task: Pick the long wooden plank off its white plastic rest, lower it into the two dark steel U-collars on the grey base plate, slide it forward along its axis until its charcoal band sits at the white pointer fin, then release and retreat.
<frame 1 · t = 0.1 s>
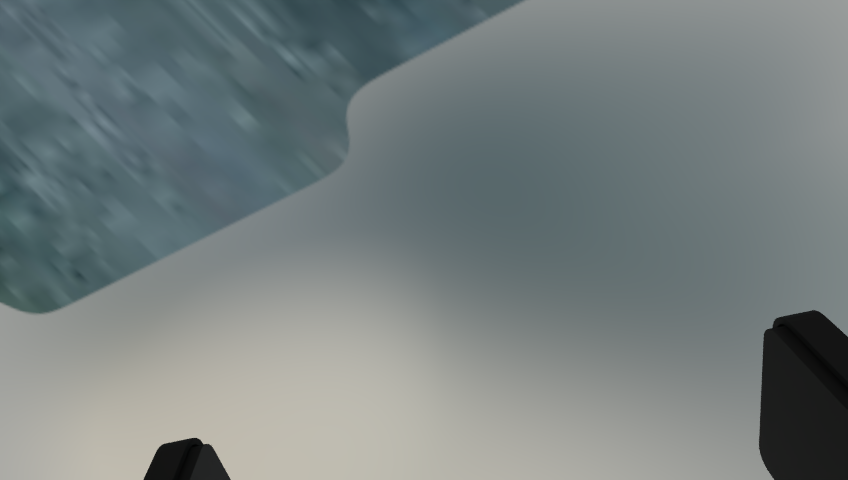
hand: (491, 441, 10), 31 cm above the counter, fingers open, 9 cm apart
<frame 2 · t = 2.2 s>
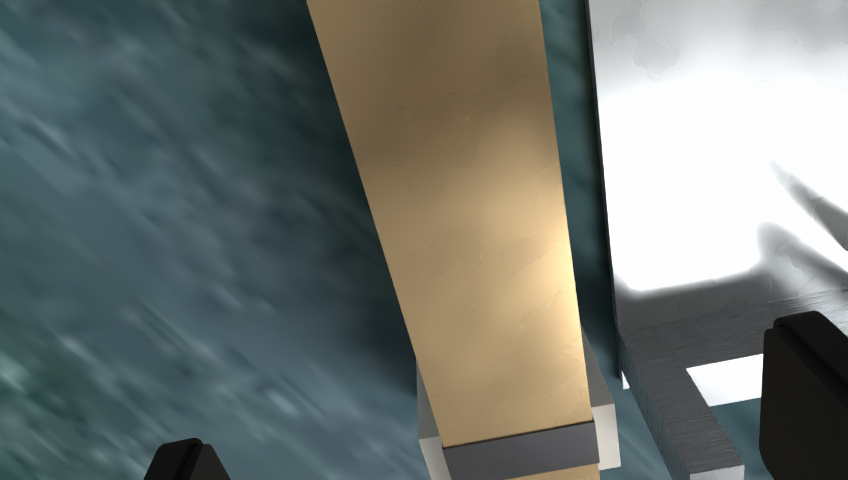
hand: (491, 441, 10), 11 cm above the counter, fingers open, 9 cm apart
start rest: (458, 158, 20), on the counter
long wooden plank: (466, 198, 17), point 3 cm above the counter, touching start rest
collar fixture: (739, 95, 19), on the counter
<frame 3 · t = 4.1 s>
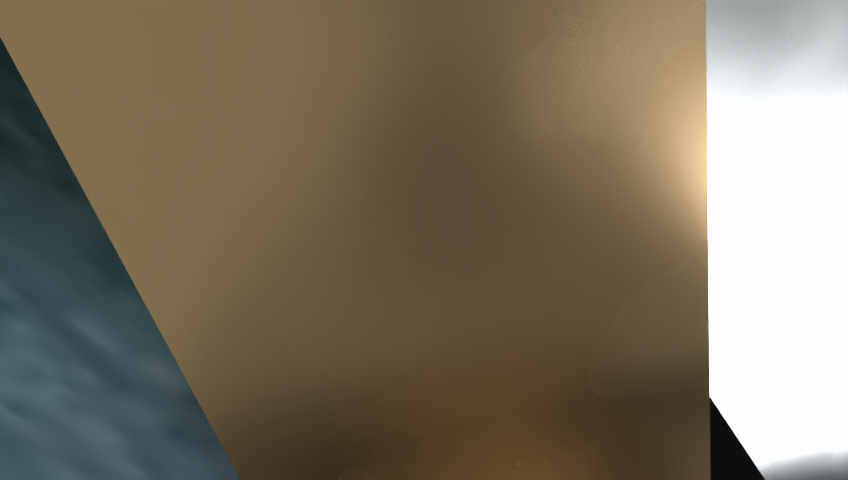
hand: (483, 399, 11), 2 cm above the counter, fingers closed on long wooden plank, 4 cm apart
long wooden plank: (489, 428, 10), point 3 cm above the counter, touching gripper, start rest
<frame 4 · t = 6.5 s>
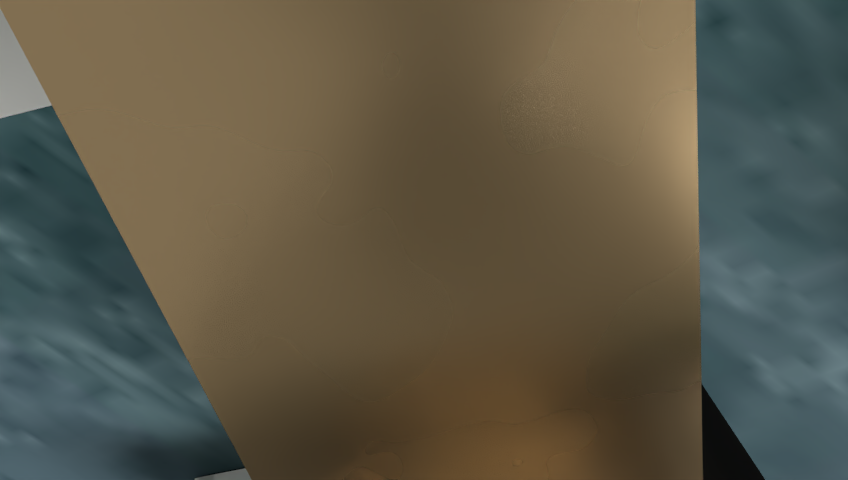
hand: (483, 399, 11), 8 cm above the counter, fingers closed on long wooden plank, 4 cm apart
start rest: (194, 307, 19), on the counter
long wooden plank: (489, 426, 11), point 8 cm above the counter, touching gripper
when the fingers open (2 cm above the counter, at t = 8.9 s): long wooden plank stays where it is, resting on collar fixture.
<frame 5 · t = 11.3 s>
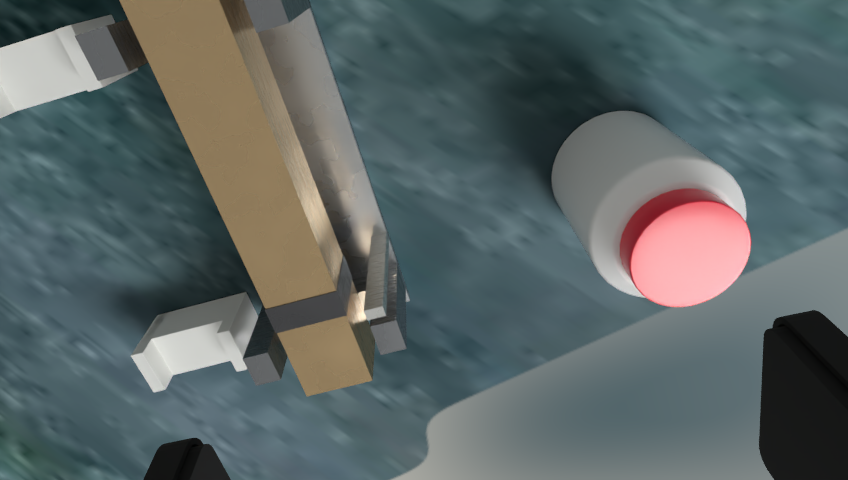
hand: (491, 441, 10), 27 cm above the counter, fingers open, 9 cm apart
pill bottle: (612, 171, 37), on the counter
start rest: (148, 204, 37), on the counter
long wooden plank: (278, 185, 33), point 3 cm above the counter, touching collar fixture
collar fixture: (286, 165, 36), on the counter
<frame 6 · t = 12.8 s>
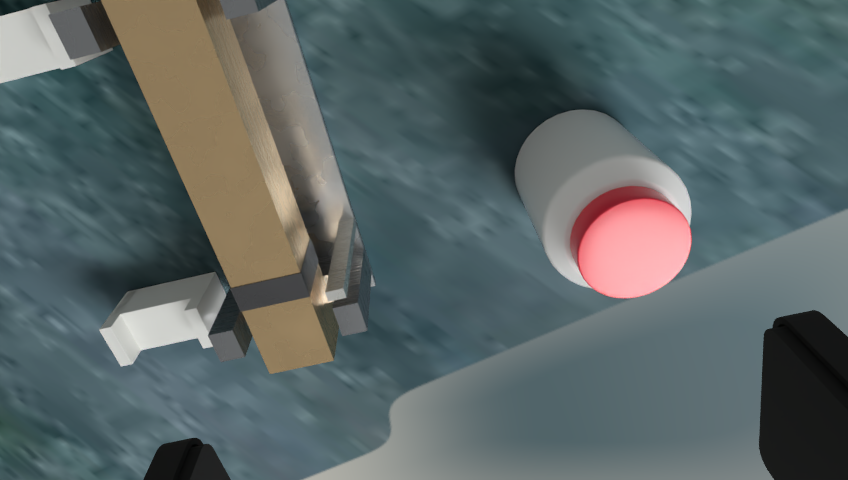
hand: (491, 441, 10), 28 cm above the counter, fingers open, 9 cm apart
pill bottle: (573, 167, 39), on the counter
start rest: (120, 182, 38), on the counter
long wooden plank: (247, 168, 34), point 3 cm above the counter, touching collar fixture
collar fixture: (257, 149, 37), on the counter
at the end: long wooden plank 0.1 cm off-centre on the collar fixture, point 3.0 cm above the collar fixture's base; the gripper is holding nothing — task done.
